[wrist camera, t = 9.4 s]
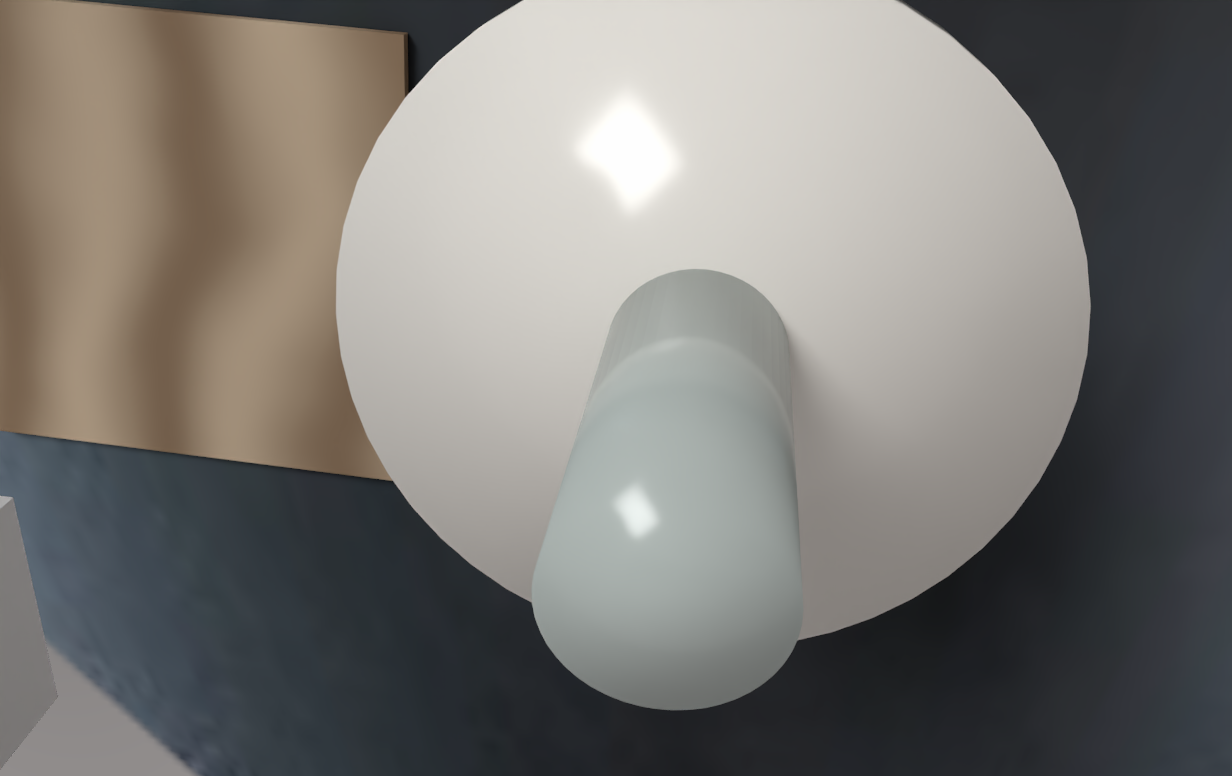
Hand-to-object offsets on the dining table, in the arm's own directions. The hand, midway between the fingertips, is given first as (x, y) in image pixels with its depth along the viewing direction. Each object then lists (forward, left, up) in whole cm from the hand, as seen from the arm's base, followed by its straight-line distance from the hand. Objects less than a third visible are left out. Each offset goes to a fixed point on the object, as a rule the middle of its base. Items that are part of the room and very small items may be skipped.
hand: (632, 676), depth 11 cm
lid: (0, 0, -10) cm, 10 cm away
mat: (-18, -6, -25) cm, 31 cm away
